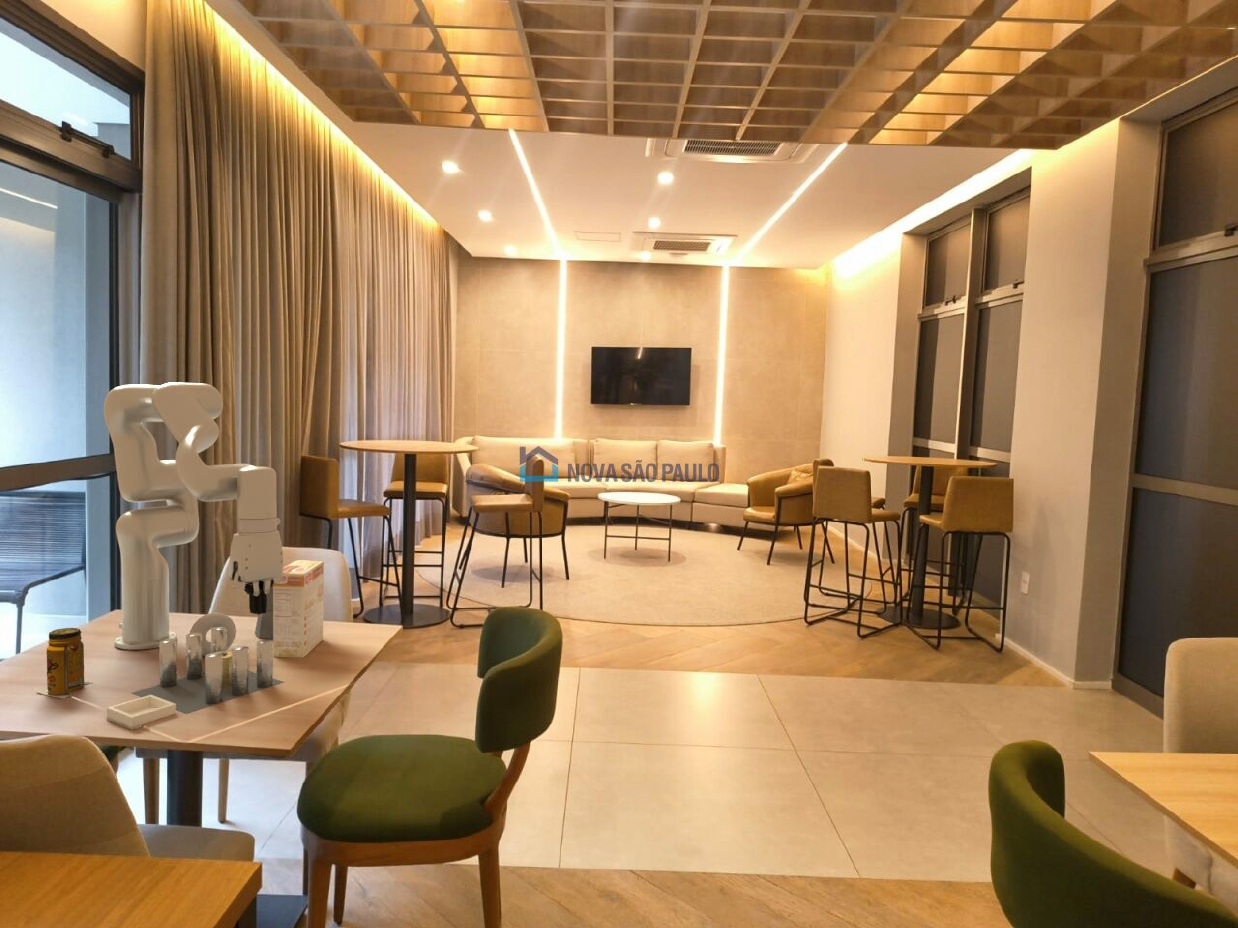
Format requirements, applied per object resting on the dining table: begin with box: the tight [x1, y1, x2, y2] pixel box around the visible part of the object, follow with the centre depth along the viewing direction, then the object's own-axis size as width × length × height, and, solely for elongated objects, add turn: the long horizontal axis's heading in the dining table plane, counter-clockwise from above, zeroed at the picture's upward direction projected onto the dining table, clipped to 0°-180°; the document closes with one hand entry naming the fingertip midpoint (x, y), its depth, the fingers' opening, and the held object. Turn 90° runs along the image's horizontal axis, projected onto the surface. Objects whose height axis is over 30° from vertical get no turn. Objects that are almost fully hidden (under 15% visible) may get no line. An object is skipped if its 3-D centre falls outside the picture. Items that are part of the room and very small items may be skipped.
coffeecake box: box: [272, 559, 325, 659], centre depth 191 cm, size 15×7×20 cm, turn 2°
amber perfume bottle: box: [214, 650, 232, 687], centre depth 166 cm, size 4×5×6 cm
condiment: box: [36, 627, 94, 699], centre depth 161 cm, size 7×8×12 cm
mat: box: [131, 670, 284, 715], centre depth 164 cm, size 18×21×1 cm
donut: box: [189, 612, 237, 657], centre depth 184 cm, size 10×4×10 cm, turn 138°
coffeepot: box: [254, 585, 273, 640], centre depth 202 cm, size 15×9×18 cm, turn 62°
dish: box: [106, 695, 177, 731], centre depth 149 cm, size 8×8×2 cm
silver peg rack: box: [159, 627, 274, 705], centre depth 165 cm, size 18×14×9 cm
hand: (258, 612), depth 172 cm, fingers closed
